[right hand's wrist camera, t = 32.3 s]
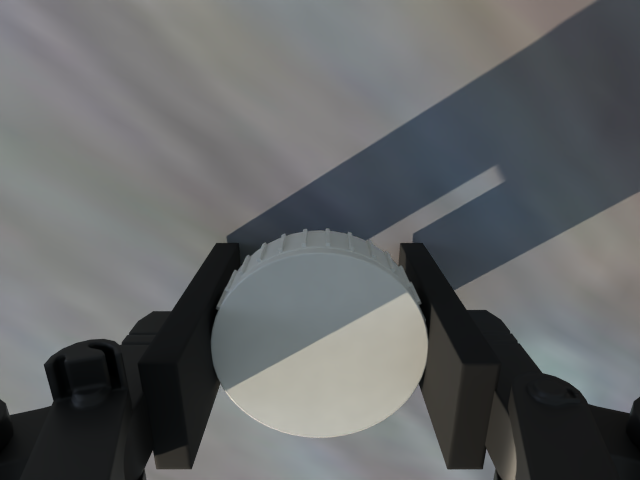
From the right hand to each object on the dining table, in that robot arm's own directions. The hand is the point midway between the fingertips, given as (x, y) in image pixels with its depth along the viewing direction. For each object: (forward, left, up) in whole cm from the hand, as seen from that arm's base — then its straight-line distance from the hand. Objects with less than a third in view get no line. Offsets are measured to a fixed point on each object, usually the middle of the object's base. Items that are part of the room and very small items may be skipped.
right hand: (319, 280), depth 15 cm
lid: (0, 0, +4) cm, 4 cm away
